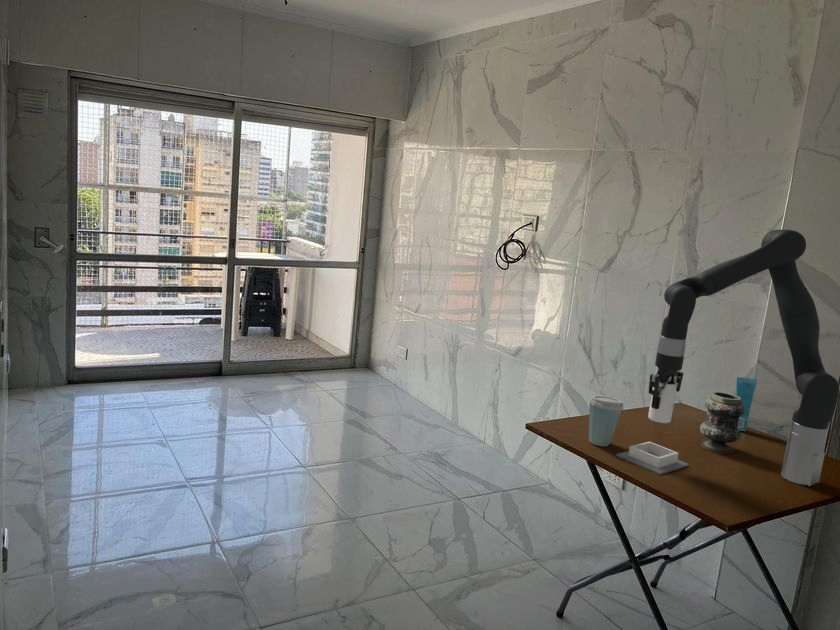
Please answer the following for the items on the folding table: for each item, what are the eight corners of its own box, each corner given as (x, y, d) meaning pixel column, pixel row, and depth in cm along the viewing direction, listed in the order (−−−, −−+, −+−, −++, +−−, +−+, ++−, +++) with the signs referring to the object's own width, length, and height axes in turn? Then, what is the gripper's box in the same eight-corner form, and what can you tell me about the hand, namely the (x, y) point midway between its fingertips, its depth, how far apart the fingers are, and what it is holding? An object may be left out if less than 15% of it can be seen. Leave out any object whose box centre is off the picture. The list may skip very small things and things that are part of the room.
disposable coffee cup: (579, 435, 221) (586, 391, 219) (612, 438, 221) (619, 394, 218) (586, 447, 211) (593, 401, 208) (621, 451, 211) (628, 404, 208)
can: (646, 420, 201) (652, 381, 199) (649, 415, 207) (656, 376, 204) (668, 425, 198) (675, 386, 196) (672, 420, 204) (678, 381, 202)
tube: (742, 427, 247) (752, 376, 244) (751, 432, 242) (761, 380, 239) (724, 426, 246) (733, 375, 242) (732, 431, 241) (742, 379, 238)
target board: (688, 465, 204) (690, 454, 203) (659, 474, 194) (662, 463, 194) (645, 448, 215) (647, 437, 214) (616, 456, 206) (618, 444, 205)
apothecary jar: (738, 447, 225) (748, 395, 221) (735, 458, 214) (746, 403, 211) (699, 438, 230) (708, 387, 227) (695, 448, 220) (704, 395, 216)
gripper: (668, 357, 191) (658, 414, 194) (695, 353, 200) (686, 407, 203) (645, 350, 197) (636, 406, 200) (673, 347, 206) (664, 400, 209)
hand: (661, 406), depth 202 cm, fingers closed on can, 6 cm apart
